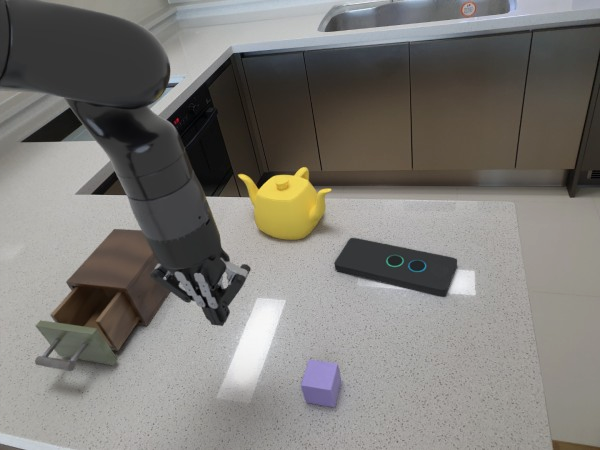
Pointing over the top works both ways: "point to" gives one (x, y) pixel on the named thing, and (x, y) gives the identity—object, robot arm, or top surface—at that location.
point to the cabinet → (124, 272)
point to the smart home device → (397, 266)
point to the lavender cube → (321, 383)
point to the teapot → (287, 205)
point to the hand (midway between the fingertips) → (220, 320)
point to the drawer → (87, 327)
